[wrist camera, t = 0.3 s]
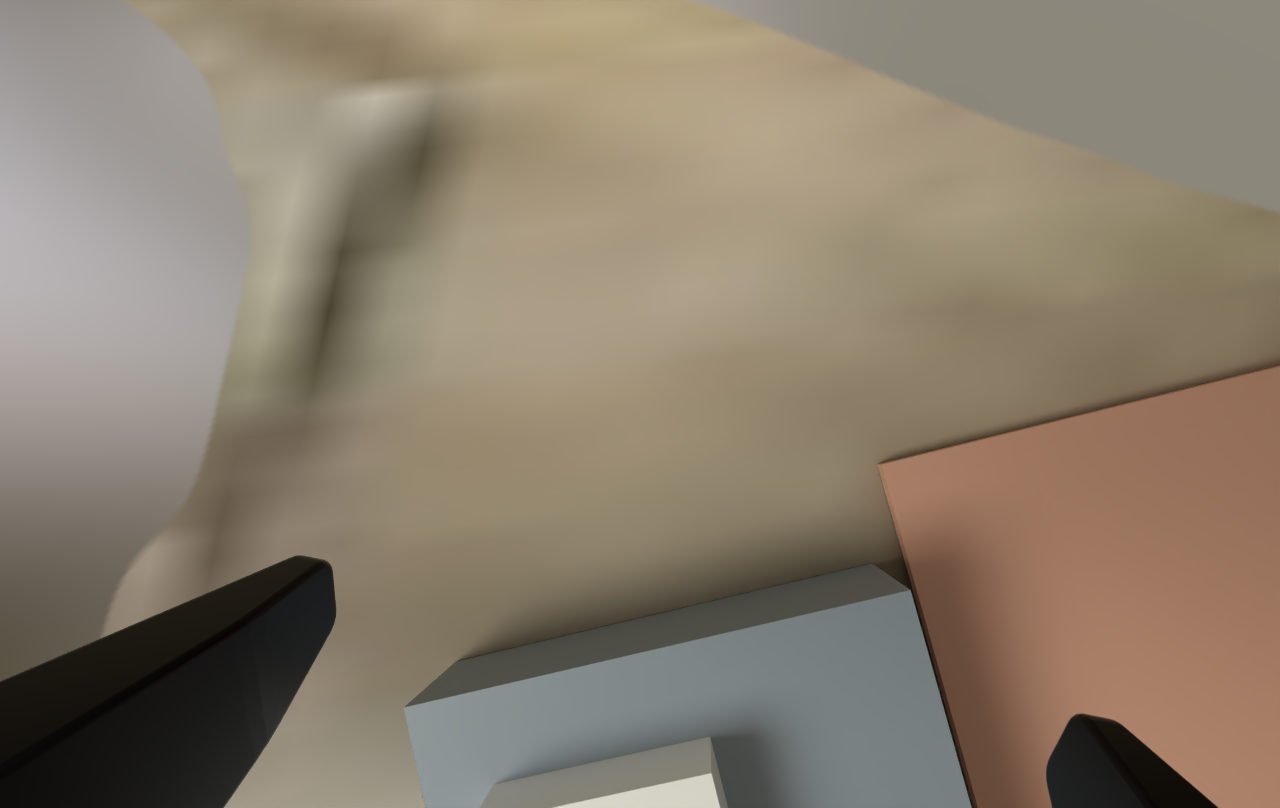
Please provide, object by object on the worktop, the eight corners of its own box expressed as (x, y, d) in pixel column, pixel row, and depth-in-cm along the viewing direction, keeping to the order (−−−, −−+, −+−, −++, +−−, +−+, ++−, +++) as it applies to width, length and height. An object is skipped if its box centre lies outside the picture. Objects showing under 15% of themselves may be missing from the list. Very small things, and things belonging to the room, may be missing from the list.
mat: (1562, 1032, 19) (1584, 1048, 19) (1061, 1119, 20) (1070, 1136, 20) (1329, 352, 21) (1345, 350, 20) (877, 463, 22) (881, 464, 21)
